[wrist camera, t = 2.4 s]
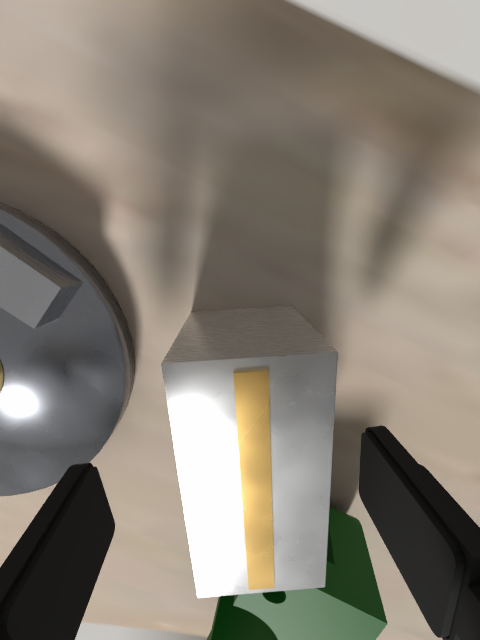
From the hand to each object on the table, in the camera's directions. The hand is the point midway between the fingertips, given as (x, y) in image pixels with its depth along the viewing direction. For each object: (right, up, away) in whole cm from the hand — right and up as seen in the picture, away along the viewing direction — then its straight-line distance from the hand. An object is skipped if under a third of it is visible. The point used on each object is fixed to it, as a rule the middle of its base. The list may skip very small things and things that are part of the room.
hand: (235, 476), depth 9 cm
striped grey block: (+1, +1, +5) cm, 6 cm away
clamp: (+2, -10, +9) cm, 14 cm away
